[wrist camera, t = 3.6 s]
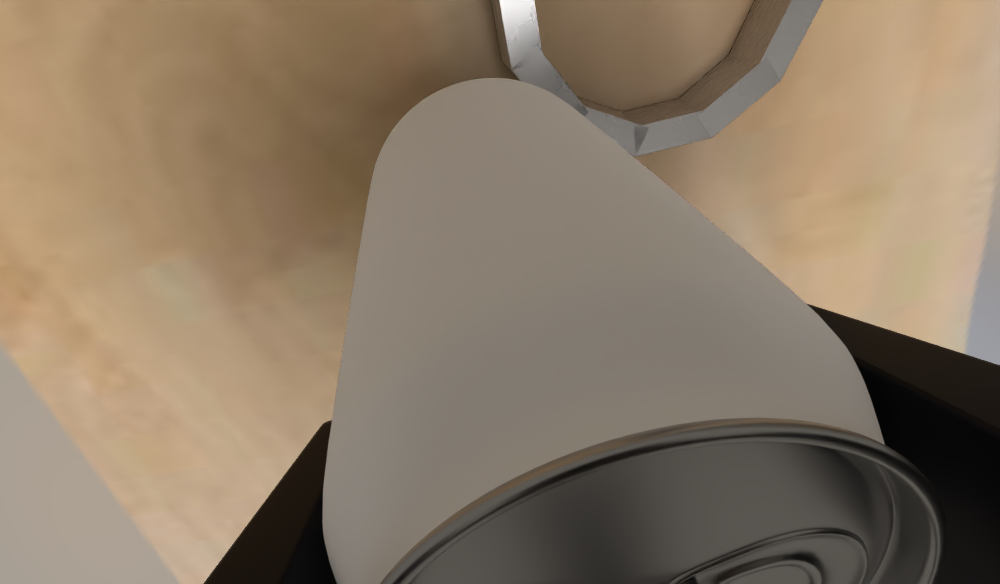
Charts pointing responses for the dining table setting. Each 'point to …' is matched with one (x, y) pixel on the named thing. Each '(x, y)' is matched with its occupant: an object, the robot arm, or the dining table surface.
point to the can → (591, 380)
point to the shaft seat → (698, 112)
